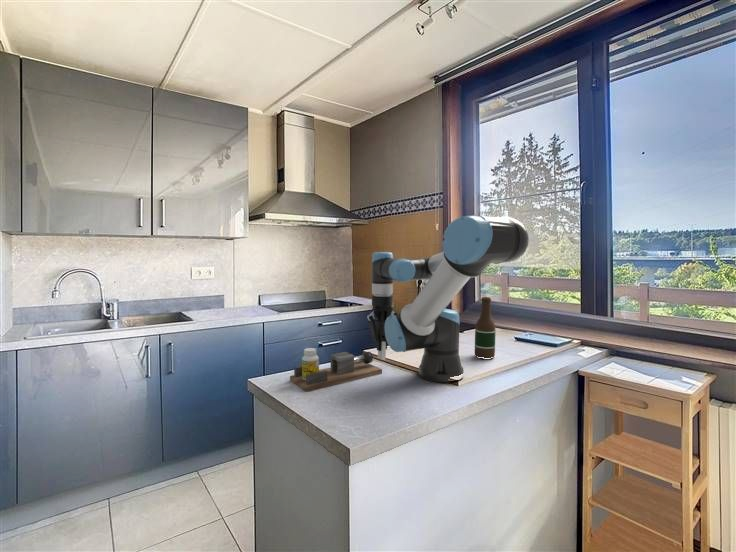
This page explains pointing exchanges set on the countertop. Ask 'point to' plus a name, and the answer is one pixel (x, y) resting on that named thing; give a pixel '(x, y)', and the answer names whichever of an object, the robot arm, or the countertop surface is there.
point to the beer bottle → (485, 331)
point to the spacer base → (335, 373)
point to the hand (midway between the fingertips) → (381, 358)
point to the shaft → (363, 358)
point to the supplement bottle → (309, 362)
